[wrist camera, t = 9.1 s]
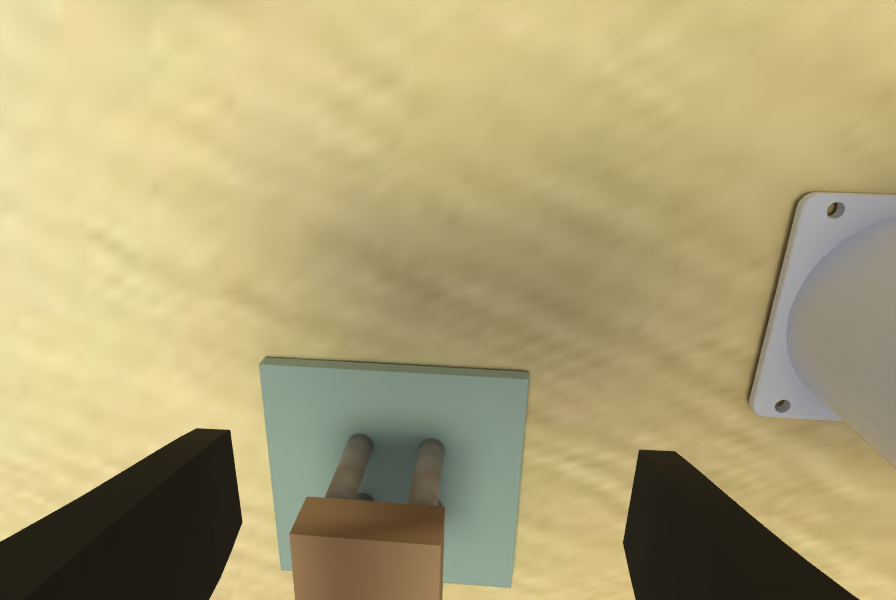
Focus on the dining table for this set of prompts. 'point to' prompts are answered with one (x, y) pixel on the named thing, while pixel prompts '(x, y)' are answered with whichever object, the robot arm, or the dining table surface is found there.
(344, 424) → the board
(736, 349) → the dining table surface
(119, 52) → the dining table surface
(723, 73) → the dining table surface
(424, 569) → the brown block with pegs
